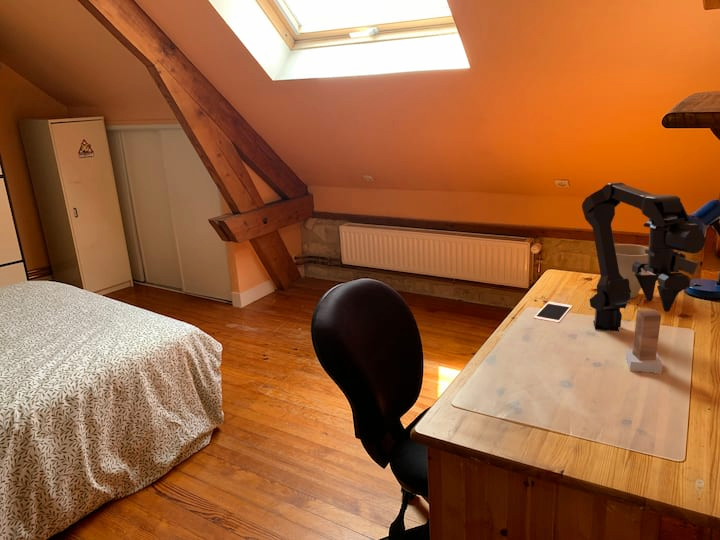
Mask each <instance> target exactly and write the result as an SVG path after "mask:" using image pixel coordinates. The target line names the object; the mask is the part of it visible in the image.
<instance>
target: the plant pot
mask: <svg viewBox="0 0 720 540" xmlns="http://www.w3.org/2000/svg"><path fill="white" fill-rule="evenodd" d="M614 245H615V250H616V256H617V262H618V268H619V273H620V275H621V276H622V277H623V278H624V279H628V280H629V286H630V290H631V293H630V299H634V298H636V297H637V296H638V294H639V292H640V291H641V290H642V288H641V286H640V284H639V282H638V280H637V278H636V276H635V275H634V274H635V272H633V271H632V265H633V264H634V263H635V262H636V261H648V254H646V253H645V249H649V246H648V247H647V246H643V245H637V244H629V243H628V244H624V243H623V244H619V243H618V244H614Z"/></svg>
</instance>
